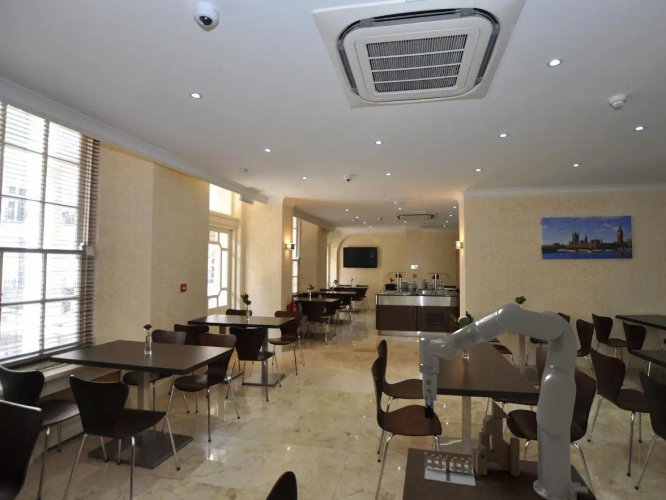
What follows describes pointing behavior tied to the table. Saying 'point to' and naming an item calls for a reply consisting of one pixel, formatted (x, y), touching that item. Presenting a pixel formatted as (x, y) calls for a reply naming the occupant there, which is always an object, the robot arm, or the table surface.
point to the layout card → (449, 475)
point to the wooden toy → (496, 445)
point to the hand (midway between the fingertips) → (429, 413)
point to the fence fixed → (462, 465)
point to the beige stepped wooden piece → (437, 460)
